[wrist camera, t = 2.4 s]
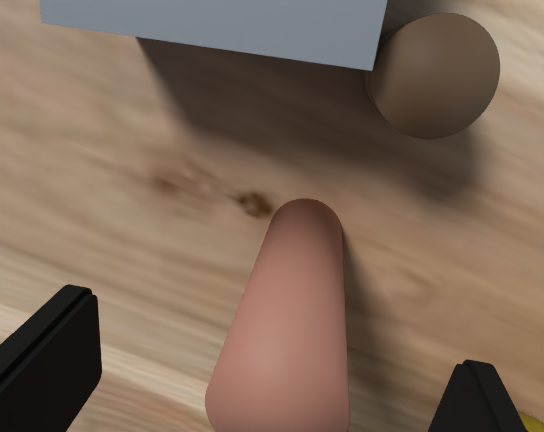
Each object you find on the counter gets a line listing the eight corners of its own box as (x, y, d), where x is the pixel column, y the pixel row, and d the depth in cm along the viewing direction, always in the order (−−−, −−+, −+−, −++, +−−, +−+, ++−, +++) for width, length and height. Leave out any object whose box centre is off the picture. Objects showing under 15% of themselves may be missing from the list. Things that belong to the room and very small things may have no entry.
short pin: (465, 31, 16) (518, 21, 11) (438, 123, 17) (476, 147, 13) (374, 19, 16) (390, 5, 12) (355, 110, 18) (362, 129, 13)
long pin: (348, 205, 19) (364, 372, 9) (334, 270, 21) (334, 477, 10) (274, 192, 19) (210, 340, 9) (265, 257, 21) (200, 447, 11)
